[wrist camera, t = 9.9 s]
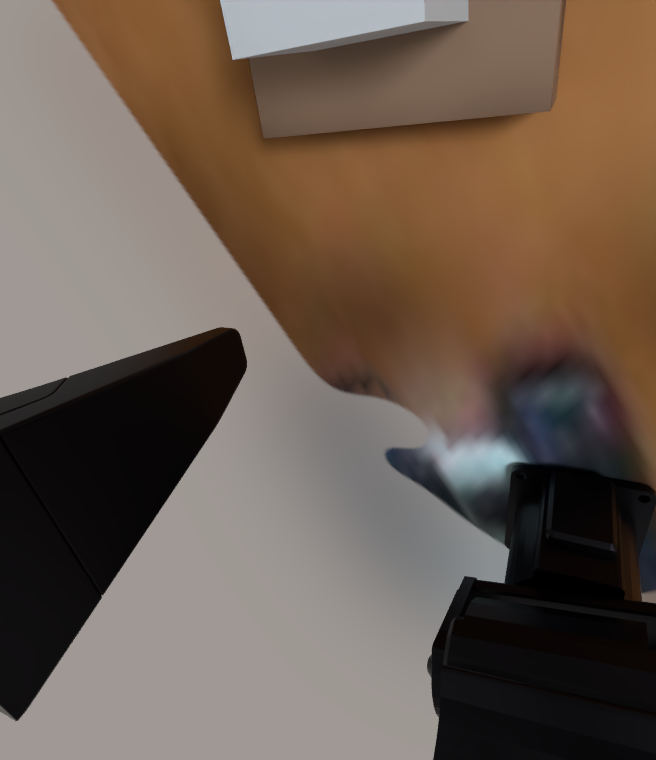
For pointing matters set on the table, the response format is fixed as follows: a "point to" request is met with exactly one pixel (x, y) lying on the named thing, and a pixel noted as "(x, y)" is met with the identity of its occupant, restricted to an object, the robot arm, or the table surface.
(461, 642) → the robot arm
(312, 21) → the grey-blue block
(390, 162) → the table surface
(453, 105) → the brown block
